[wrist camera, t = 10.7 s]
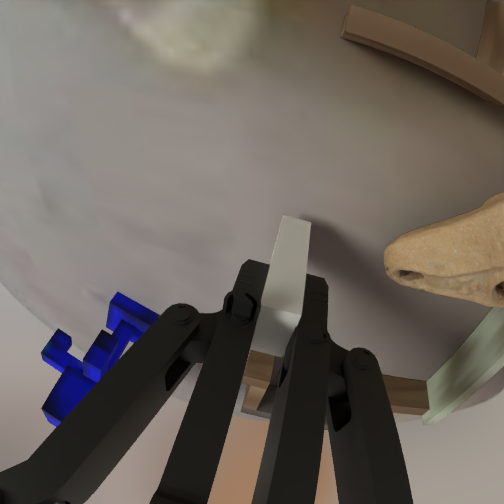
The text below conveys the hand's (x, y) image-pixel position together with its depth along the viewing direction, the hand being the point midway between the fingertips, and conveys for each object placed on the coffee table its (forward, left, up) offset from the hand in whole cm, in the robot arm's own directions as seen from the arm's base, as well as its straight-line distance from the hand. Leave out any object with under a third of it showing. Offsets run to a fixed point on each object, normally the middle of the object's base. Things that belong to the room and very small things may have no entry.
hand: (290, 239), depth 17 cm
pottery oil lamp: (-4, +10, -2) cm, 11 cm away
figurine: (+13, -11, -1) cm, 17 cm away
